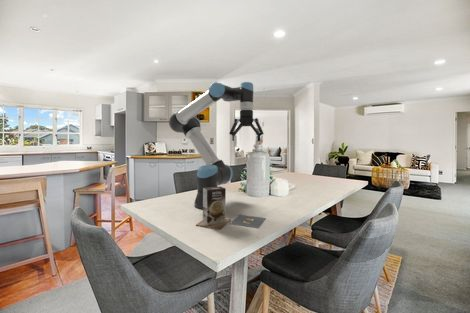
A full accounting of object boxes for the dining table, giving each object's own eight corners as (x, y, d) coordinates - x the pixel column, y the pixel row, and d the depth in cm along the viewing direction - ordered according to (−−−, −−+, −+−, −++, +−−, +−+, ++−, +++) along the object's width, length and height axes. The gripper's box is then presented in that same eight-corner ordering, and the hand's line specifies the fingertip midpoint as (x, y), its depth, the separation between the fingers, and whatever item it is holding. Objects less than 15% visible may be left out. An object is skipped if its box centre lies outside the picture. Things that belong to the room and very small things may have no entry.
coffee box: (207, 225, 104) (207, 190, 102) (202, 221, 109) (202, 187, 108) (225, 222, 108) (226, 188, 107) (220, 218, 114) (220, 185, 112)
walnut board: (196, 225, 105) (196, 224, 105) (208, 217, 116) (208, 216, 116) (220, 229, 101) (220, 228, 101) (230, 220, 112) (230, 219, 112)
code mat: (229, 223, 108) (229, 223, 108) (239, 214, 121) (239, 214, 121) (258, 228, 103) (258, 227, 103) (266, 218, 116) (266, 217, 116)
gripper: (224, 110, 135) (223, 146, 137) (266, 108, 127) (265, 147, 128) (229, 111, 142) (228, 146, 144) (269, 110, 134) (268, 147, 135)
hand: (245, 146), depth 136 cm, fingers open, 13 cm apart
